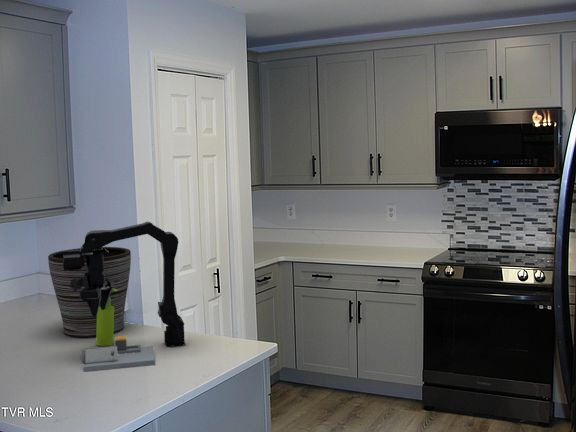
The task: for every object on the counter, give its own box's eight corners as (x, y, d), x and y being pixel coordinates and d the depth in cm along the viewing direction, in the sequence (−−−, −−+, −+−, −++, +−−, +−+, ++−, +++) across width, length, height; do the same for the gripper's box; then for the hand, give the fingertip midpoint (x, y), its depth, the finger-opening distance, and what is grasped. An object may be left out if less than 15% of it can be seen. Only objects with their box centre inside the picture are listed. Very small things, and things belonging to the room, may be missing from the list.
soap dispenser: (111, 346, 234) (112, 290, 233) (93, 344, 236) (94, 288, 234) (118, 342, 240) (120, 287, 239) (100, 340, 242) (102, 286, 240)
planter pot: (91, 345, 237) (86, 262, 233) (35, 334, 252) (30, 256, 249) (150, 325, 262) (147, 249, 259) (96, 316, 278) (92, 244, 274)
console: (153, 350, 230) (152, 332, 229) (154, 364, 215) (154, 345, 214) (84, 356, 225) (83, 338, 224) (81, 371, 209) (80, 352, 209)
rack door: (117, 359, 216) (117, 345, 215) (117, 361, 214) (117, 347, 213) (86, 362, 213) (85, 348, 213) (85, 364, 211) (85, 350, 211)
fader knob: (126, 348, 227) (126, 335, 226) (126, 351, 223) (126, 338, 223) (116, 349, 226) (115, 336, 225) (115, 352, 223) (115, 339, 222)
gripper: (81, 263, 236) (84, 307, 238) (62, 274, 217) (65, 321, 219) (112, 262, 236) (115, 306, 237) (96, 273, 217) (99, 320, 219)
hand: (98, 313), depth 228 cm, fingers open, 9 cm apart
